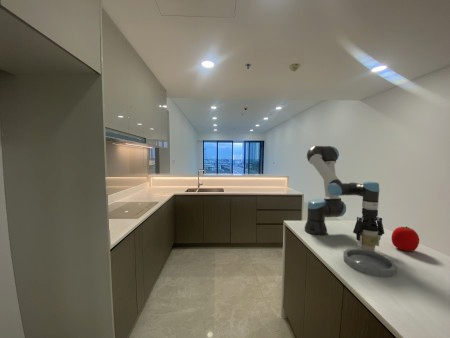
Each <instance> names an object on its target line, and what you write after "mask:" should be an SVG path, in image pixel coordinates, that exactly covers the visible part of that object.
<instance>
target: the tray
mask: <svg viewBox="0 0 450 338" xmlns="http://www.w3.org/2000/svg"><path fill="white" fill-rule="evenodd" d="M342 258H343V262H344V263H346V265H348V266H349V267H350V268H352V269H354V270H357V271H358V272H360V273H363V274H366V275H369V276H370V275H371V276H374V277H380V278H384V277H385V278H387V277H389V278H390V277H393V276H394V275H396V273H397V269H398V267H397V265H396V263H395V261H394V260H392V259H390V258H389V257H387V256H385V255H383V254H380V253H378V252H375V251H374V252H372V251H368V250H363V249H361V248H348V249H346V250H343V257H342Z"/></svg>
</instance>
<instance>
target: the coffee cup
mask: <svg viewBox="0 0 450 338" xmlns="http://www.w3.org/2000/svg"><path fill="white" fill-rule="evenodd" d="M361 226H363V225H361ZM378 231H379V228H378V225H377V226H374V225H372V224H369V225H367V226H364V228H363V232H362V234H361V235H362V247H360V249H363V250H368V251H372V252H375V250H376V249H375V248H376V247H377V246H376V242H377V237H378Z"/></svg>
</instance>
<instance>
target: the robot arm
mask: <svg viewBox="0 0 450 338" xmlns="http://www.w3.org/2000/svg"><path fill="white" fill-rule="evenodd" d="M339 157H340V154H339V149H338V148H336V147H335V146H330V145H315V146H312V147H310V148H309V149H308V151H307V153H306V159H307V162H309V164H311V165H312V166H313V167H314V169H316V171H317V172H318V174H319V175H320V176H321V178H322V179H323V186H324V187H323V188H324V194H325V197H324V198H323V199H322V198H313V199H310V200H309V201H308V202H307V219H306V222H305V224H304V231H305V232H306V233H308V234H310V235H316V236H325V235H328V229H327V225H326V220H325V219H326V218H340V217H343V216H344V215H345V214H346V212H347V205H346V203H345V202H344V201H342V198H341V197H342V196H359V197H362V202H361V204H362V205H361V207H362V208H361V214H362V215H361V217H359V216H356V222H355V225H354V228H353V231H352V233H353V234H355V235H356V236H355V239H356V245H357V246H358V247H360V248H361V247H362V235H361V234H362V232H363V228H364V226H367V225H369V224H372V225H374V226H378V228H379V231H378V237H377V242H376V246H375V247H380V241H381V237H382V236H383V235H384V234H385V230H384V225H383V218H382V217H380V216H379V197H380V184H379V182H376V181H364V182H363V183H357V182H348V183H343V182H342V181H341V180H340V179H339V178H338V176H337V175H336V166H335V164H336V163H337V161H338V160H339ZM340 196H341V197H340ZM361 225H363V226H361Z"/></svg>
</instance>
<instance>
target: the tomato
mask: <svg viewBox="0 0 450 338" xmlns="http://www.w3.org/2000/svg"><path fill="white" fill-rule="evenodd" d="M390 240H391V243H392V245H393V246H394V247H395V248H396V249H399V250H401V251H405V252H414V251H415V250H417V248H419V244H420V237H419V234H418V232H417V231H415V229H413V228H410V227H408V226H398V227H396V228H395V229H394V230H393V232H392V234H391V239H390Z"/></svg>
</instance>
